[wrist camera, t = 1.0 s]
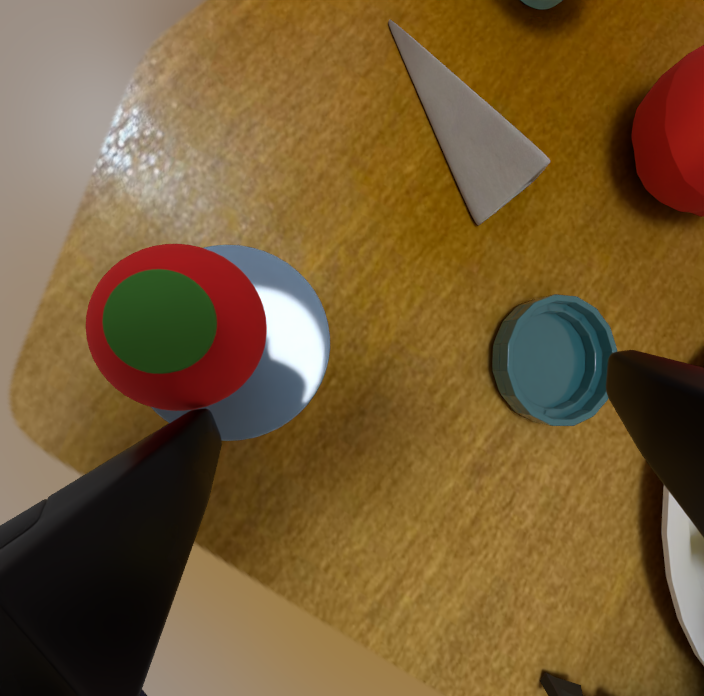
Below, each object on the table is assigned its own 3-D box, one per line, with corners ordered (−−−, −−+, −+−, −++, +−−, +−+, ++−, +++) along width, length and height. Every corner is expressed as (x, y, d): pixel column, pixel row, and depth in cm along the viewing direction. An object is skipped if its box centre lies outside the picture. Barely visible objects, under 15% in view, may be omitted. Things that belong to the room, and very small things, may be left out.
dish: (539, 446, 27) (562, 453, 25) (464, 355, 25) (482, 355, 24) (611, 363, 28) (638, 364, 26) (544, 275, 27) (567, 268, 25)
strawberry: (160, 422, 12) (99, 464, 7) (99, 295, 12) (-3, 261, 7) (287, 366, 13) (299, 373, 8) (233, 245, 12) (216, 187, 8)
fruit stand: (235, 428, 22) (226, 482, 12) (154, 345, 21) (75, 333, 11) (316, 353, 23) (367, 349, 13) (244, 271, 22) (241, 205, 13)
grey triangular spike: (324, 68, 23) (484, 227, 23) (380, -11, 22) (553, 158, 21) (352, 103, 29) (481, 232, 28) (398, 42, 27) (537, 178, 27)
